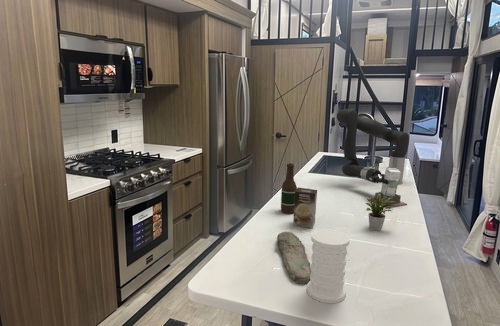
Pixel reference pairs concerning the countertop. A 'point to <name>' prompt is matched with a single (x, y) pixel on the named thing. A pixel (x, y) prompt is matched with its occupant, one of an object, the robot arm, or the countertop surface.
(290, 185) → the beer bottle
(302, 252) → the elongated rock
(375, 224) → the house plant
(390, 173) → the syrup box
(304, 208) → the coffee box
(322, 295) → the decorative container
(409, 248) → the countertop surface
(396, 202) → the collar block
